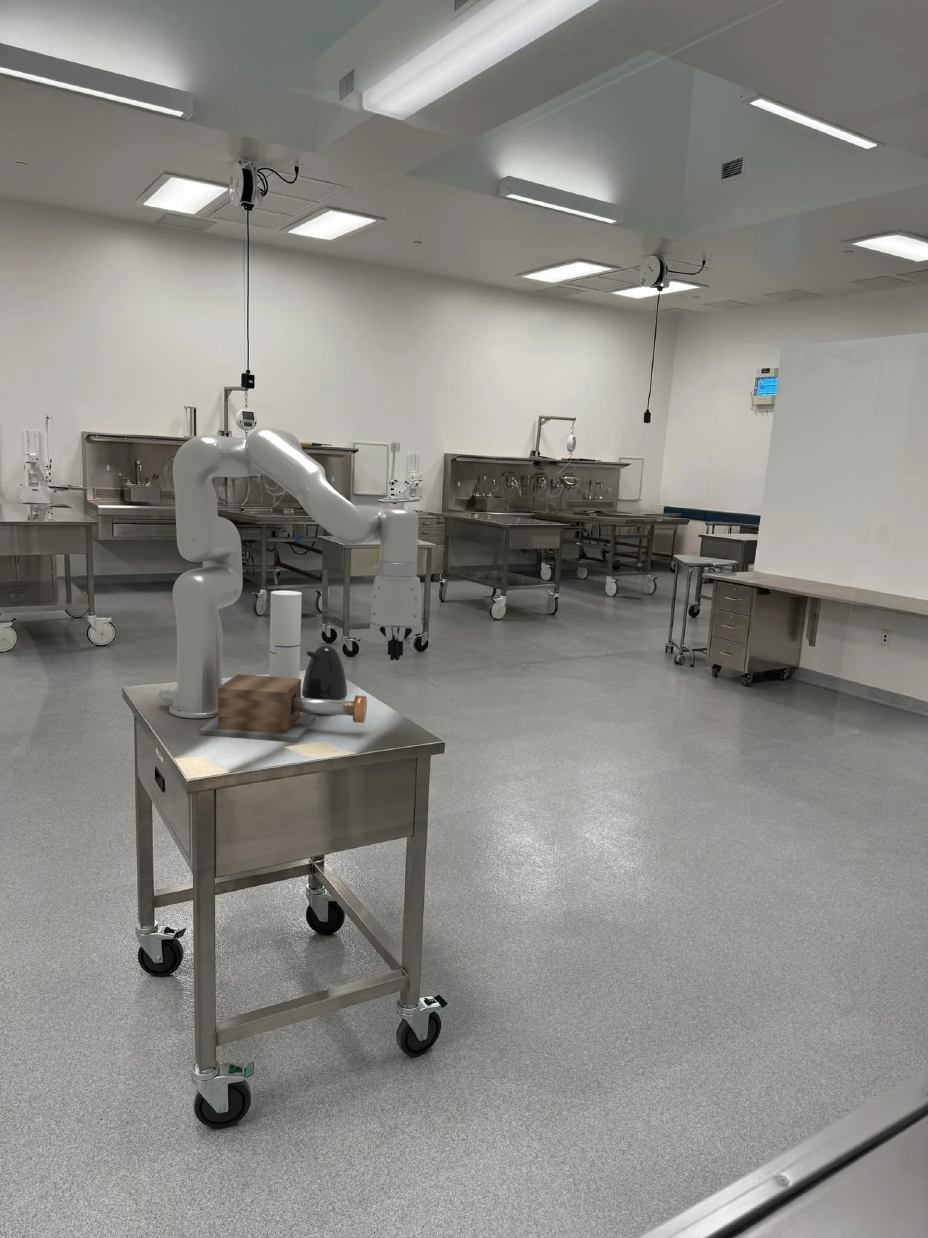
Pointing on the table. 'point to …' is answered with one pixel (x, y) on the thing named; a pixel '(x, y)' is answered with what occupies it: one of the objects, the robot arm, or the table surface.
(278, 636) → the cylindrical container
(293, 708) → the shaft
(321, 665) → the black rounded figure
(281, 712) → the block
